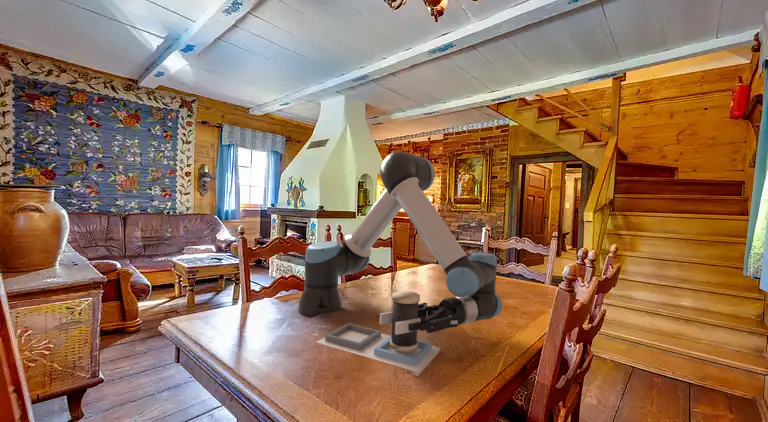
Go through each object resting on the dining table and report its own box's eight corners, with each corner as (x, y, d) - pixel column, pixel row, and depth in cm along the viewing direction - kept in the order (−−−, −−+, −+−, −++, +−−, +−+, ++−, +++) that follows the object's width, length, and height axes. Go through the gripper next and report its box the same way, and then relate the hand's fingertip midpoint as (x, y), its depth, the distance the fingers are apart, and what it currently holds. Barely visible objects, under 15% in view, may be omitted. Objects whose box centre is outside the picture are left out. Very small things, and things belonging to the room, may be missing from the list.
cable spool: (385, 347, 84) (387, 295, 84) (397, 338, 90) (399, 289, 90) (411, 354, 81) (413, 300, 81) (421, 344, 87) (424, 294, 87)
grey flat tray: (315, 345, 89) (316, 336, 89) (347, 328, 103) (348, 319, 103) (417, 376, 76) (418, 365, 76) (439, 351, 89) (439, 342, 89)
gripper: (483, 336, 87) (410, 354, 75) (433, 313, 103) (367, 325, 91) (484, 307, 87) (412, 321, 74) (435, 289, 103) (369, 298, 91)
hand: (388, 323), depth 83 cm, fingers closed on cable spool, 6 cm apart
